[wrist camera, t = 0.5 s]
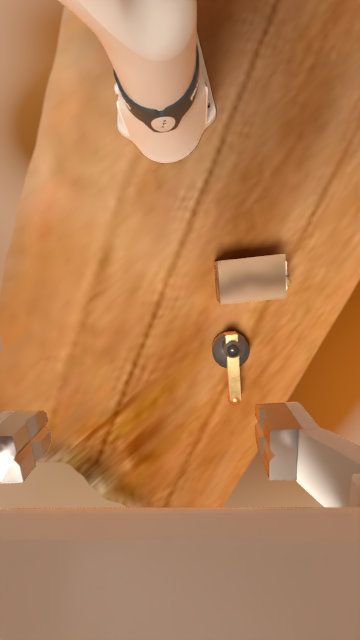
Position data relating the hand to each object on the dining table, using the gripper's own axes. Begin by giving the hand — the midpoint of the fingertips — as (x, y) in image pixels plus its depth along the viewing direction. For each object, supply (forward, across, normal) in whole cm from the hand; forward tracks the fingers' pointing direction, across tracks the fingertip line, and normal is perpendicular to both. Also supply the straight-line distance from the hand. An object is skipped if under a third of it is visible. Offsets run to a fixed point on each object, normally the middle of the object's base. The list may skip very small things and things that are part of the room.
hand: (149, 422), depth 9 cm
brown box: (+45, -13, -3) cm, 47 cm away
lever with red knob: (+45, -10, +16) cm, 49 cm away
